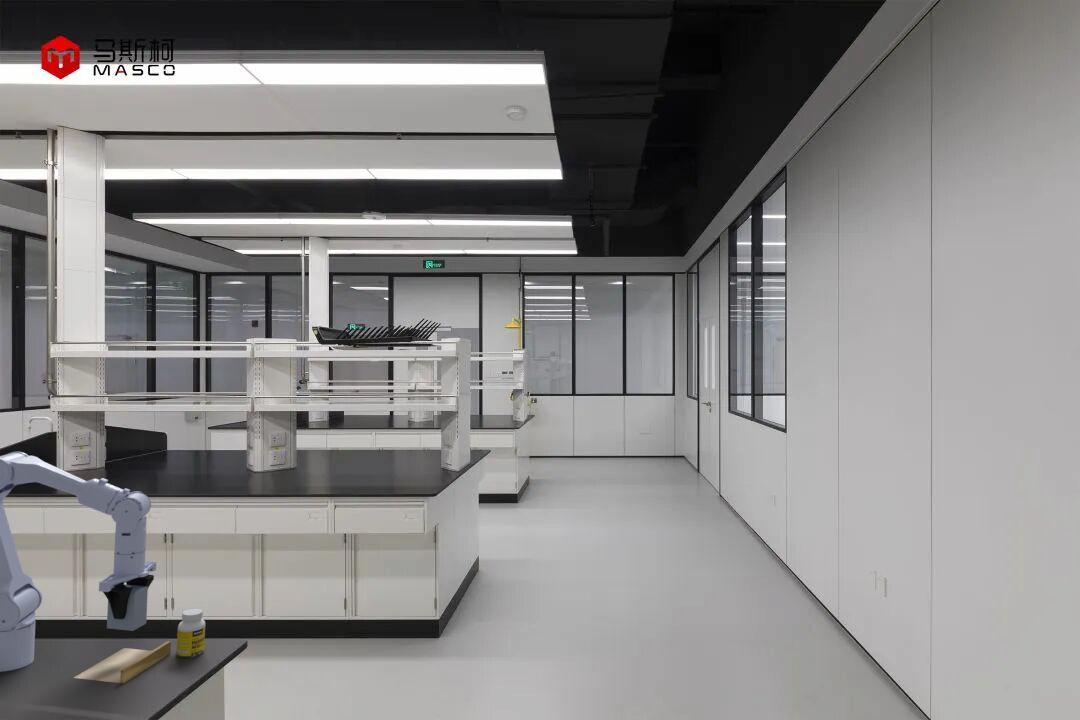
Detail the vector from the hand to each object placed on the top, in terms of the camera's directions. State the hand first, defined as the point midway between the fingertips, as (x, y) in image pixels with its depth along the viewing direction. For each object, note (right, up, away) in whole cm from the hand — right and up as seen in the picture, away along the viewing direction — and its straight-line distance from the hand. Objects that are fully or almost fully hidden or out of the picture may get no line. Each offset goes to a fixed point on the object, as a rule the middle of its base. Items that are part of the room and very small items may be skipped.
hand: (127, 614), depth 144 cm
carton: (0, -3, 0) cm, 3 cm away
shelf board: (+1, -10, -3) cm, 11 cm away
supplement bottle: (+12, -11, +4) cm, 16 cm away
